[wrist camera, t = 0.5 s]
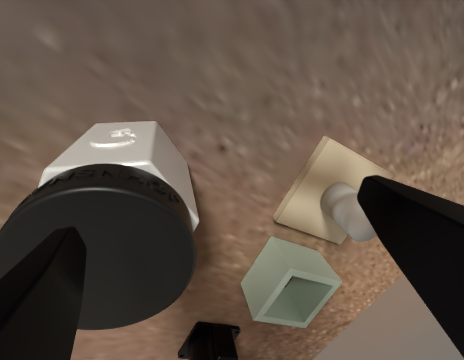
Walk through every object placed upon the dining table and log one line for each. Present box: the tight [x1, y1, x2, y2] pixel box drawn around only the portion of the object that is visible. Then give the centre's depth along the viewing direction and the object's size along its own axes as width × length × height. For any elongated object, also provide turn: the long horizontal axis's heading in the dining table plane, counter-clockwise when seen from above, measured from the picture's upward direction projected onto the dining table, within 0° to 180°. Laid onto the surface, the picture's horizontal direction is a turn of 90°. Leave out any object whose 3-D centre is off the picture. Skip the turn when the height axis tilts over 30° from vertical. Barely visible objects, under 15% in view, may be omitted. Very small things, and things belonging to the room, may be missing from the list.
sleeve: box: [241, 236, 342, 328], centre depth 29 cm, size 7×7×5 cm
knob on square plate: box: [273, 136, 393, 245], centre depth 25 cm, size 10×10×6 cm
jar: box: [0, 121, 199, 330], centre depth 16 cm, size 9×8×12 cm
